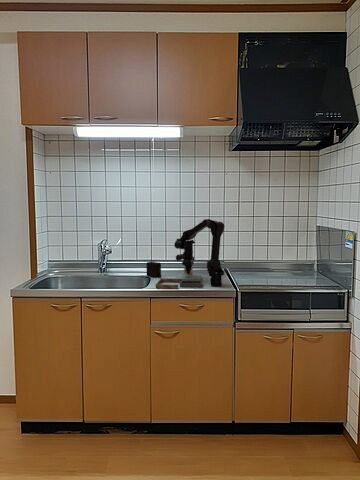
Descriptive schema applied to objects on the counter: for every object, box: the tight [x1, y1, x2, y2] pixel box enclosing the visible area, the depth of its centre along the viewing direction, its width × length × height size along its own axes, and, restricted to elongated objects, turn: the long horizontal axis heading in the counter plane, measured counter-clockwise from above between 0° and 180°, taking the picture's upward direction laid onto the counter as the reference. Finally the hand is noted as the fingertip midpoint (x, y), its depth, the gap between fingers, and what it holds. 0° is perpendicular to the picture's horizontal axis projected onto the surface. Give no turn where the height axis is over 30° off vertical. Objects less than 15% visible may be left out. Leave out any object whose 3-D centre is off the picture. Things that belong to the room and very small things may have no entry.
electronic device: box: [145, 261, 162, 279], centre depth 278 cm, size 4×10×10 cm, turn 49°
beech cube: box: [183, 266, 194, 276], centre depth 267 cm, size 5×5×5 cm
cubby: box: [155, 277, 182, 290], centre depth 252 cm, size 14×18×2 cm
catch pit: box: [179, 280, 203, 289], centre depth 251 cm, size 13×8×2 cm, turn 83°
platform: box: [175, 274, 202, 281], centre depth 268 cm, size 16×12×2 cm
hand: (188, 273), depth 267 cm, fingers closed on beech cube, 5 cm apart
